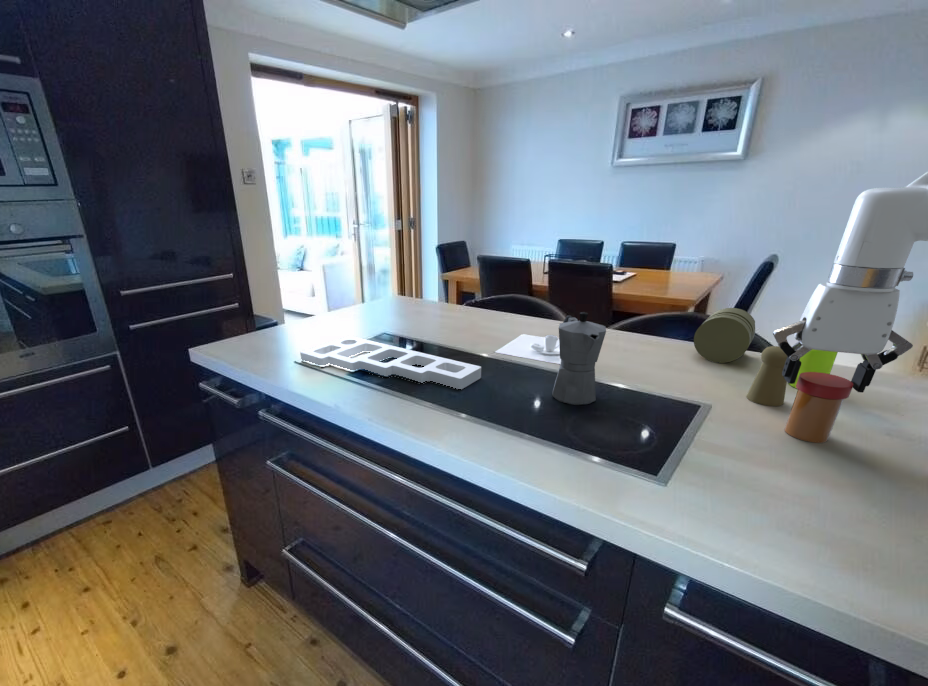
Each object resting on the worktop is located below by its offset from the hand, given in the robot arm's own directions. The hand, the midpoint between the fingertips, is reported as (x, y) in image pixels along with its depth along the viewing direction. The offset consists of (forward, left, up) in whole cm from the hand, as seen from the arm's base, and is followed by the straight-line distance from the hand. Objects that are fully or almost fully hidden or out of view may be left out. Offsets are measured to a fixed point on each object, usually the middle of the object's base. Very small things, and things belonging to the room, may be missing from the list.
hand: (821, 384), depth 72 cm
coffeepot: (+39, -3, -10) cm, 40 cm away
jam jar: (0, 0, -9) cm, 9 cm away
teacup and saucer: (+50, -32, -10) cm, 60 cm away
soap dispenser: (-7, -25, -10) cm, 28 cm away
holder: (+83, -2, -10) cm, 84 cm away
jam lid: (0, 0, +1) cm, 1 cm away
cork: (+3, -14, -10) cm, 17 cm away
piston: (+7, -41, -10) cm, 43 cm away
